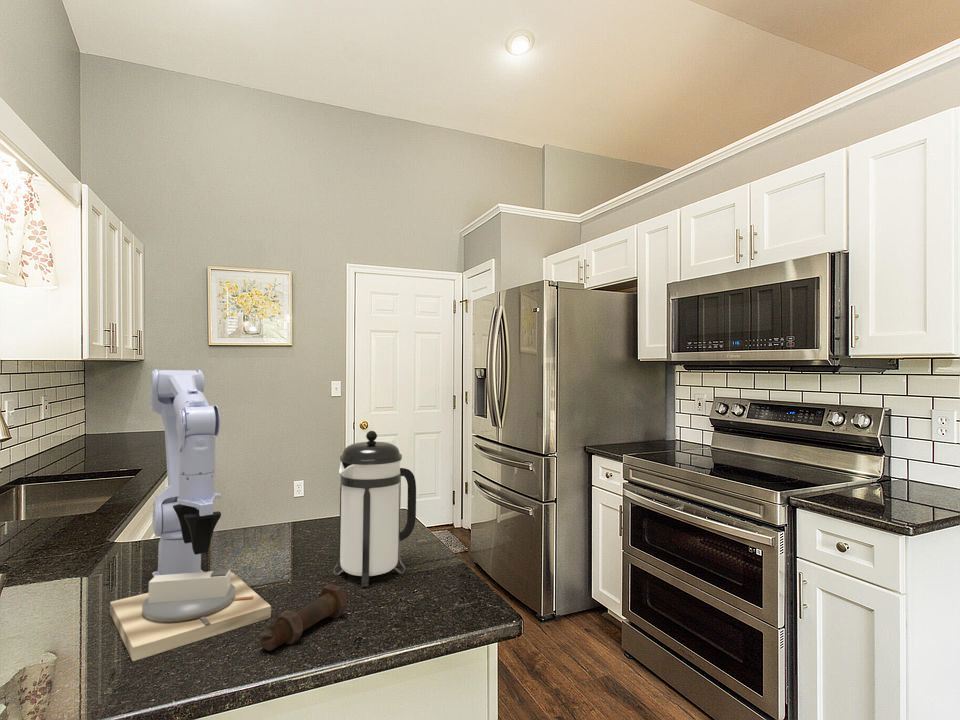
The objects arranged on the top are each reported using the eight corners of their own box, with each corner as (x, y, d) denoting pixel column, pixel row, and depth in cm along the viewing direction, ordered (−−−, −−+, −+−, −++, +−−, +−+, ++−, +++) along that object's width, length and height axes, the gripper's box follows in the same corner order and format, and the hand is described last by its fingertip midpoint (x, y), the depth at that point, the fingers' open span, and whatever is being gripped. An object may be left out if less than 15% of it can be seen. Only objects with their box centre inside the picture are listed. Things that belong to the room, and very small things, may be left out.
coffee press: (405, 589, 101) (407, 435, 102) (323, 588, 101) (326, 434, 102) (415, 557, 118) (417, 426, 119) (345, 556, 118) (348, 425, 119)
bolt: (261, 665, 78) (333, 619, 91) (282, 656, 76) (351, 611, 89) (248, 627, 79) (320, 588, 93) (268, 617, 77) (339, 579, 91)
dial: (127, 626, 81) (128, 595, 81) (159, 589, 94) (160, 562, 94) (224, 616, 84) (225, 587, 84) (242, 582, 98) (243, 556, 98)
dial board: (110, 613, 90) (110, 600, 90) (231, 582, 103) (231, 570, 103) (132, 661, 75) (133, 646, 75) (270, 617, 89) (271, 604, 89)
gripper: (232, 475, 91) (230, 553, 91) (210, 464, 102) (209, 533, 102) (187, 480, 87) (185, 562, 86) (169, 468, 98) (168, 540, 97)
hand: (195, 547), depth 94 cm, fingers open, 7 cm apart
